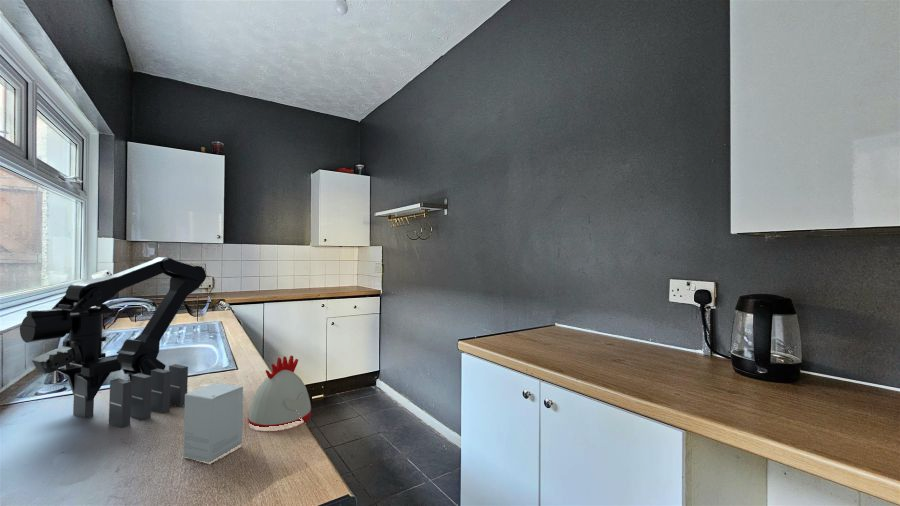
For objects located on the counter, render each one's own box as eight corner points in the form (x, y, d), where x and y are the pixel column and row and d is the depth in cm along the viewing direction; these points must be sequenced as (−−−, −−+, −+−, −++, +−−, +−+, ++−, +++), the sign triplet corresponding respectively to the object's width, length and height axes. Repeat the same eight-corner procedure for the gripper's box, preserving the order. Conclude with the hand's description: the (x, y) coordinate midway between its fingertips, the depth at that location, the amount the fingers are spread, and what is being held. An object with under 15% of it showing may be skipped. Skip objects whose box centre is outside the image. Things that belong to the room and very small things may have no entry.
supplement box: (243, 447, 76) (244, 386, 76) (209, 466, 69) (211, 398, 69) (216, 440, 78) (218, 381, 78) (181, 458, 71) (183, 393, 71)
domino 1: (82, 412, 90) (83, 371, 91) (93, 415, 89) (95, 374, 89) (72, 414, 89) (74, 373, 89) (84, 418, 87) (85, 376, 87)
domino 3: (138, 414, 90) (139, 373, 90) (150, 417, 88) (152, 376, 88) (129, 416, 88) (131, 375, 89) (142, 420, 87) (144, 378, 87)
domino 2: (117, 420, 86) (118, 378, 86) (130, 425, 84) (131, 381, 84) (108, 424, 85) (109, 380, 85) (121, 428, 83) (122, 383, 83)
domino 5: (174, 401, 98) (175, 364, 98) (187, 404, 96) (188, 366, 96) (167, 404, 96) (168, 365, 96) (180, 407, 94) (181, 368, 95)
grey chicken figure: (322, 415, 92) (324, 355, 92) (270, 438, 80) (272, 369, 80) (288, 402, 99) (290, 347, 99) (236, 421, 87) (238, 358, 88)
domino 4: (157, 407, 94) (158, 368, 94) (169, 411, 92) (170, 371, 92) (149, 410, 92) (150, 370, 92) (162, 413, 91) (163, 373, 91)
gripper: (18, 336, 85) (15, 404, 85) (62, 345, 78) (59, 418, 78) (80, 328, 95) (78, 388, 95) (124, 335, 88) (122, 400, 88)
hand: (83, 398), depth 89 cm, fingers closed on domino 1, 5 cm apart
